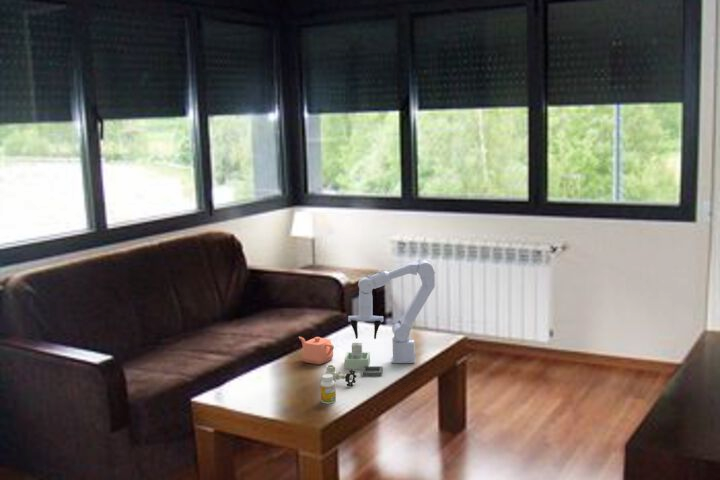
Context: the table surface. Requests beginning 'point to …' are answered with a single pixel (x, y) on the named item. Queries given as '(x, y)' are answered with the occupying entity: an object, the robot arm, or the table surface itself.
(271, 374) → the table surface
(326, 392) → the supplement bottle
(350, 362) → the bin
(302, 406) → the table surface
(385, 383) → the table surface
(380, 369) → the socket
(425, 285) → the robot arm
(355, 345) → the strut
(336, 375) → the valve
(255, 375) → the table surface
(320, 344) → the teapot
